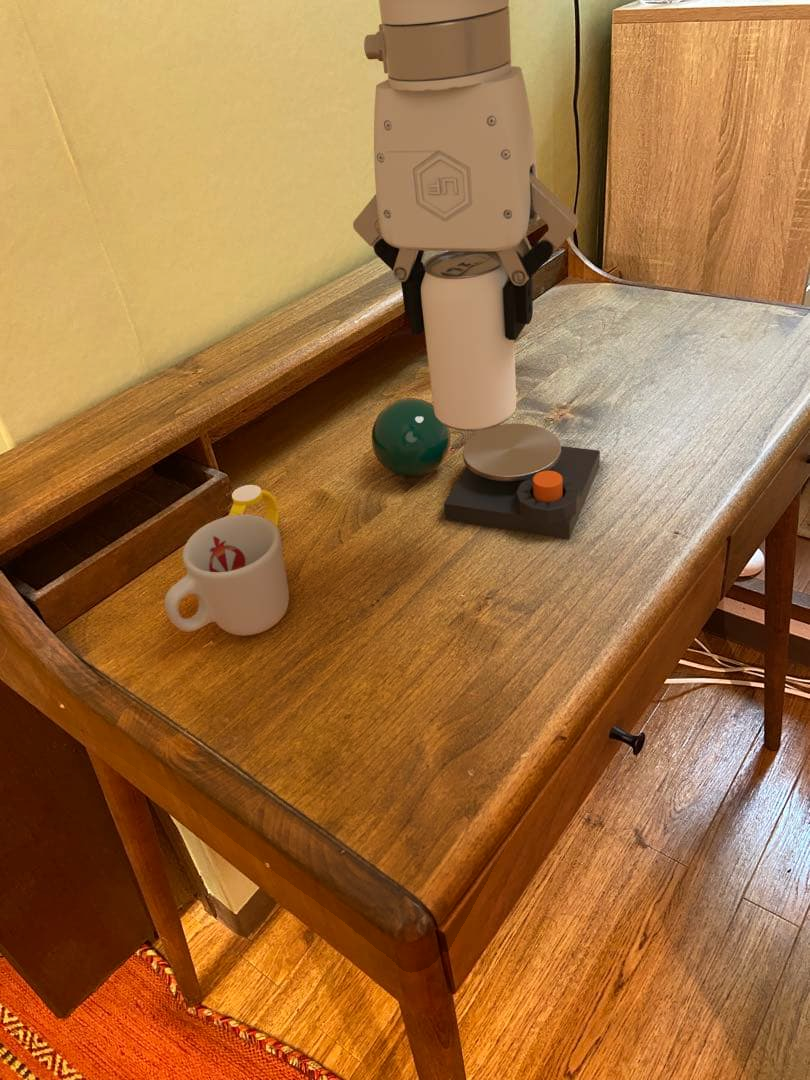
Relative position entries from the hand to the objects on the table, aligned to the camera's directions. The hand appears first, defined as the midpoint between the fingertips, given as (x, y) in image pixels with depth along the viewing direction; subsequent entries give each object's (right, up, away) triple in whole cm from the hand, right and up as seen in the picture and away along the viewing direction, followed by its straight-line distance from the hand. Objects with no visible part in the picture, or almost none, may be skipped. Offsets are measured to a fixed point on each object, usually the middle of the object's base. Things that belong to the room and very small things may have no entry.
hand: (468, 327), depth 60 cm
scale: (+7, -11, +20) cm, 24 cm away
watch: (-19, -16, +19) cm, 31 cm away
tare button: (+8, -12, +14) cm, 20 cm away
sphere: (-4, -9, +25) cm, 27 cm away
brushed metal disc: (+6, -7, +19) cm, 21 cm away
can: (+1, -6, +4) cm, 7 cm away
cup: (-19, -23, +10) cm, 31 cm away
